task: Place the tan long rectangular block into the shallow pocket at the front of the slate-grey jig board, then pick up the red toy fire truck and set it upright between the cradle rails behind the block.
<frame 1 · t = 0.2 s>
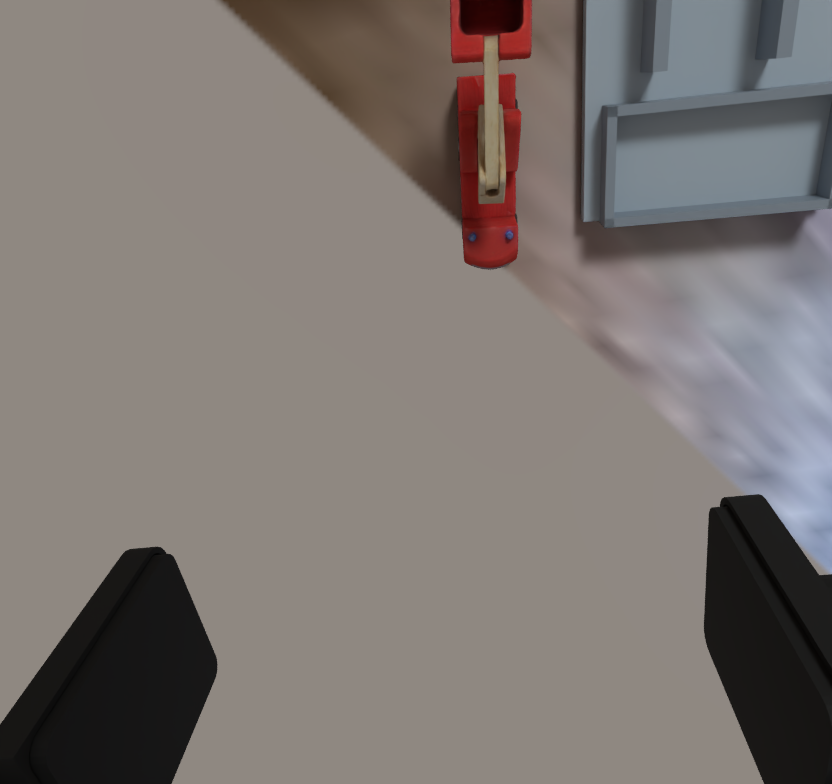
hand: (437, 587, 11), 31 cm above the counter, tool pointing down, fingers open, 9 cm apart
toy fire truck: (487, 137, 36), on the counter
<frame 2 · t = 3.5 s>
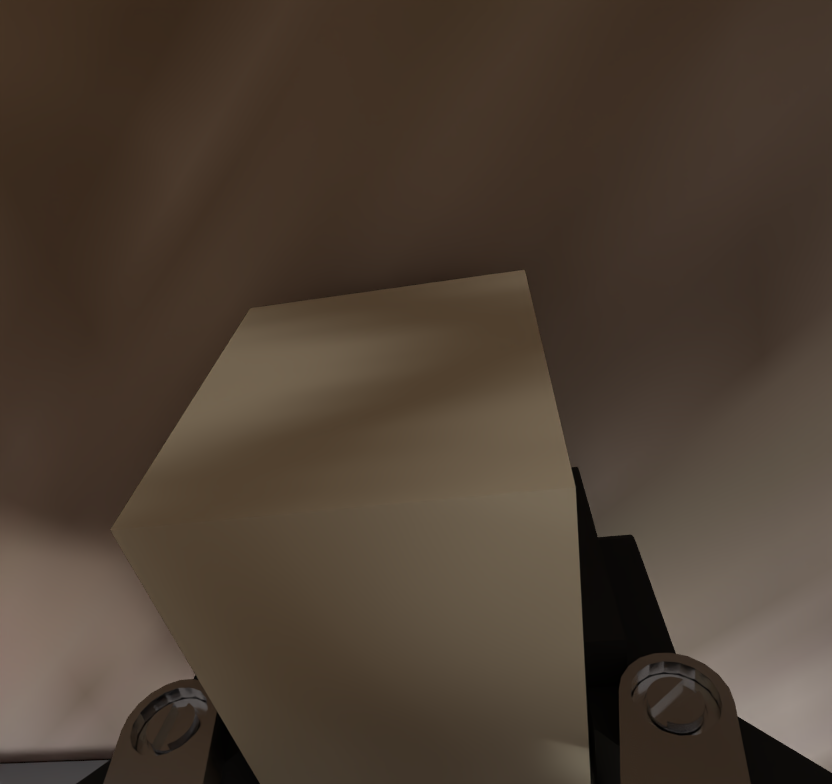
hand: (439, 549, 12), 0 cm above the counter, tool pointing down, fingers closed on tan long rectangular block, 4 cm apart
tan long rectangular block: (437, 538, 12), on the counter, tilted 6°, touching gripper
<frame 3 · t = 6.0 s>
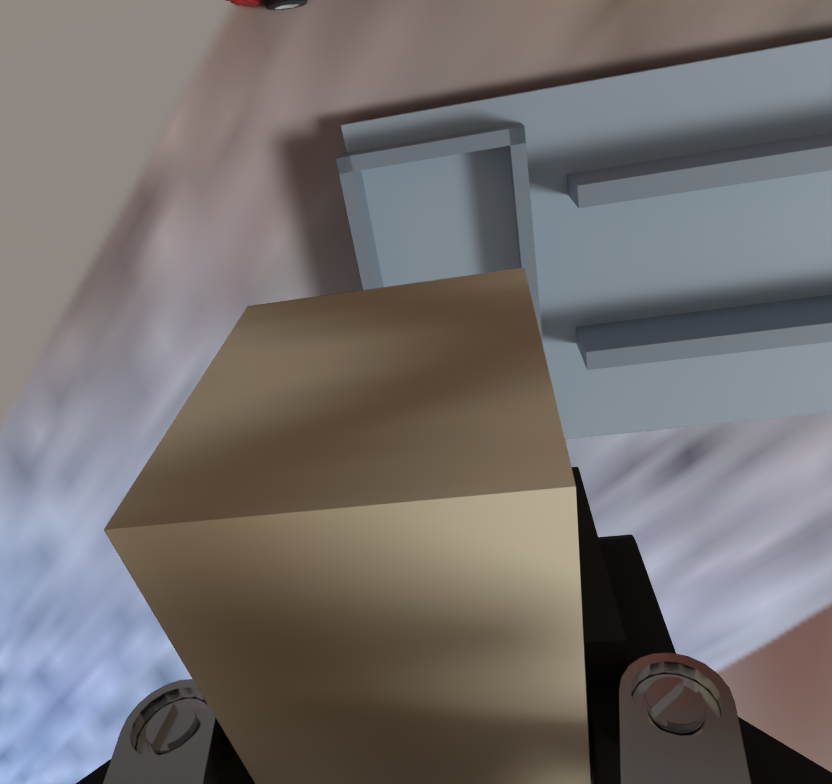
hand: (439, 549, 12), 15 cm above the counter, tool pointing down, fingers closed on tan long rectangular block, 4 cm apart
tan long rectangular block: (436, 538, 12), point 15 cm above the counter, tilted 6°, touching gripper
jig board: (676, 261, 24), on the counter
when the fingers open (3 cm above the counter, at t = 8.5 s): tan long rectangular block drops 2 cm, resting on jig board.
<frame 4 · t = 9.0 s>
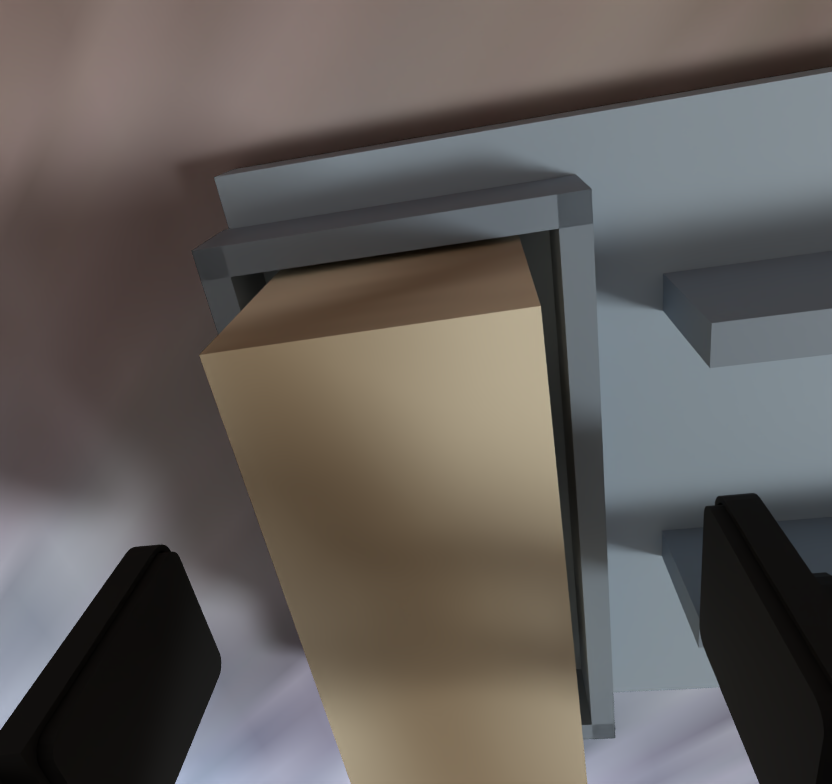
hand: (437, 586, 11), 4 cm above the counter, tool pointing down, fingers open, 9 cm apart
tan long rectangular block: (444, 473, 13), point 1 cm above the counter, touching jig board
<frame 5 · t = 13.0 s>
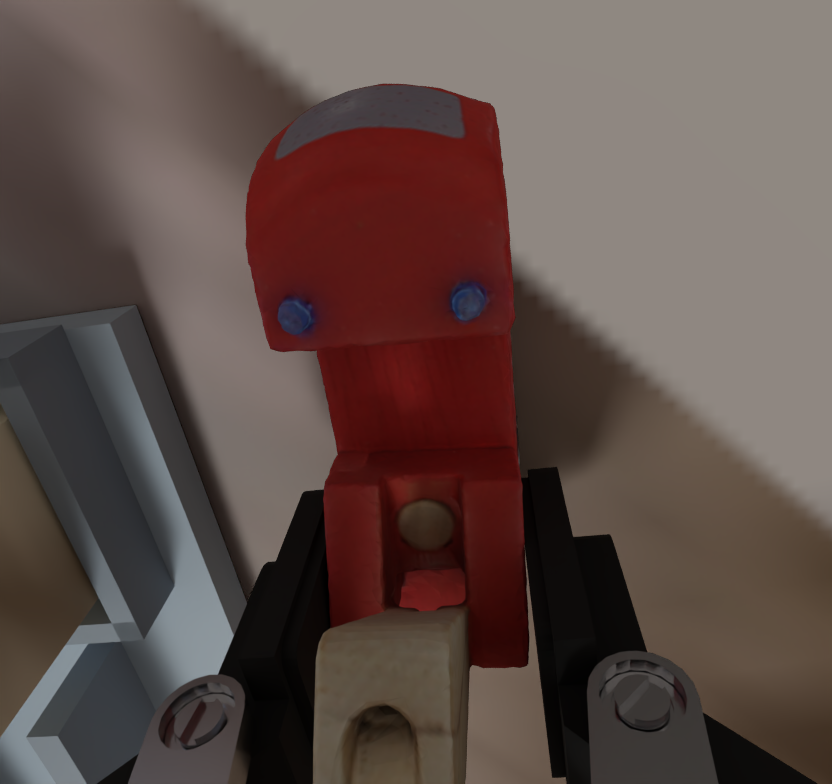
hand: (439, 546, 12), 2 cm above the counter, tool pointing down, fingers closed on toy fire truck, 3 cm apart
toy fire truck: (436, 443, 13), on the counter, touching gripper
jig board: (59, 719, 18), on the counter
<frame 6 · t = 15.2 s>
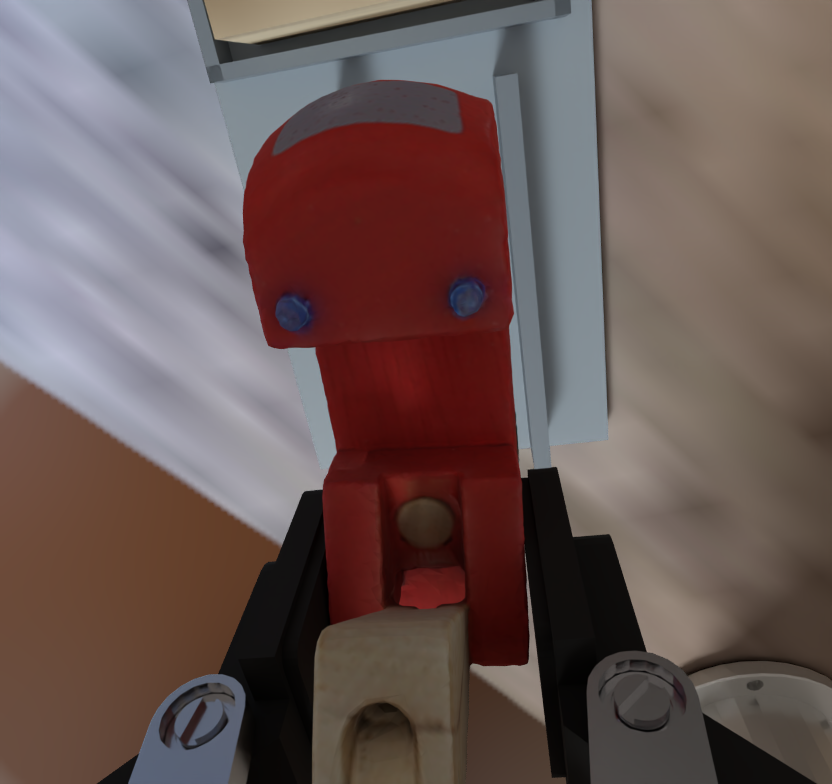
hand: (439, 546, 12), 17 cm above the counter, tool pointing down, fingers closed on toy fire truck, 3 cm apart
toy fire truck: (435, 441, 13), point 15 cm above the counter, touching gripper
jig board: (421, 200, 26), on the counter
when the fingers open (4 cm above the counter, at t = 17.8 s): toy fire truck stays where it is, resting on jig board.
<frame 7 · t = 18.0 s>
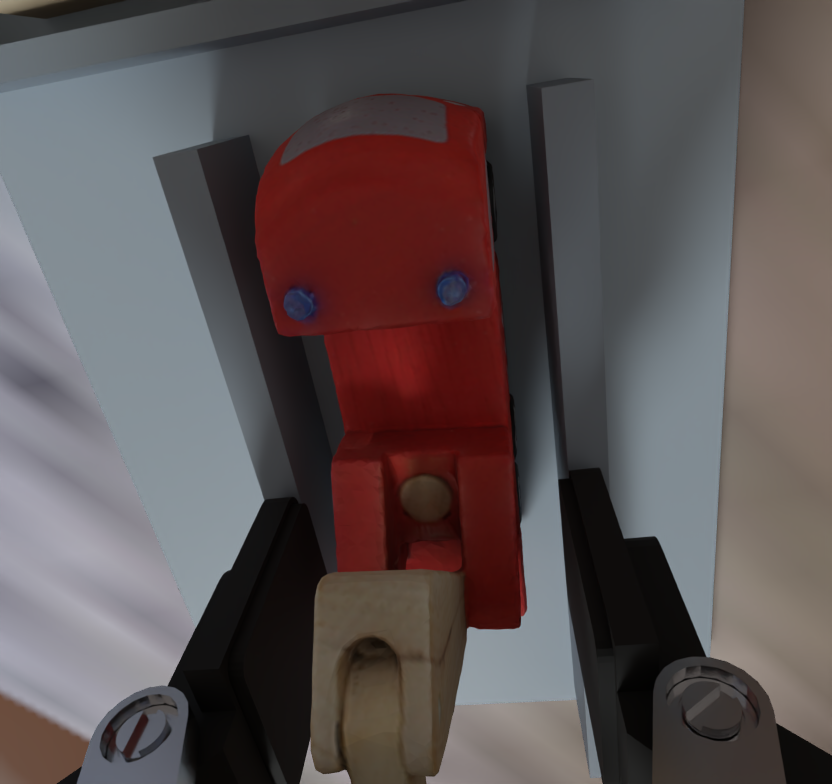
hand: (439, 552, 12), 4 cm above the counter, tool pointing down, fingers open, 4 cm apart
toy fire truck: (440, 426, 14), point 1 cm above the counter, touching jig board
jig board: (388, 310, 14), on the counter
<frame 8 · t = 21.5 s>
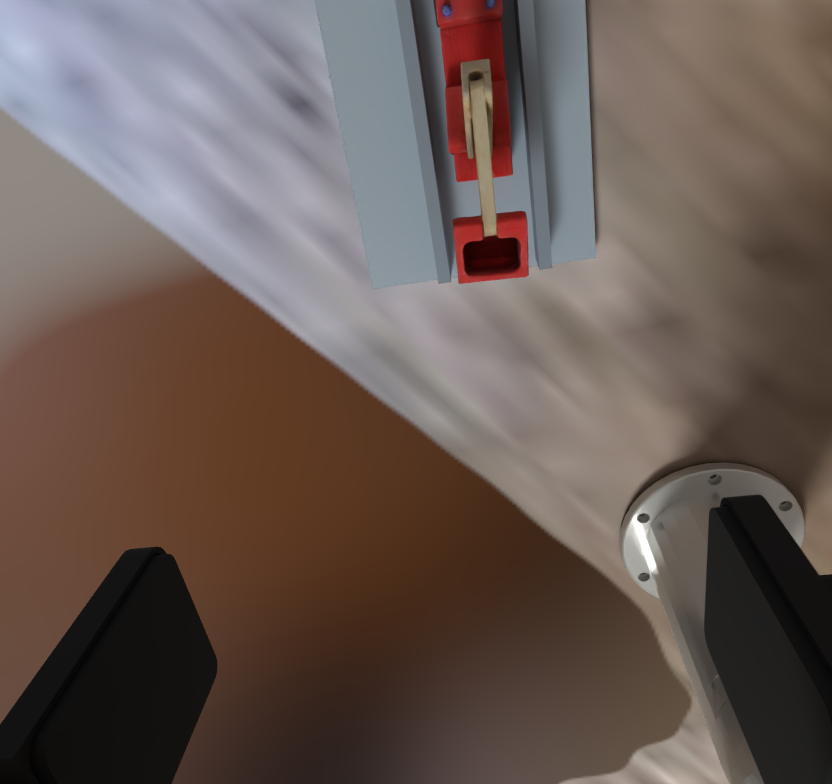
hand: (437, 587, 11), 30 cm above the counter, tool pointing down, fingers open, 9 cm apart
toy fire truck: (476, 111, 35), point 1 cm above the counter, touching jig board
jig board: (456, 62, 34), on the counter
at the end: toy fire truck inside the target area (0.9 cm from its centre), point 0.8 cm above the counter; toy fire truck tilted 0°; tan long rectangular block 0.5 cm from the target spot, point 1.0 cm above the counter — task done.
